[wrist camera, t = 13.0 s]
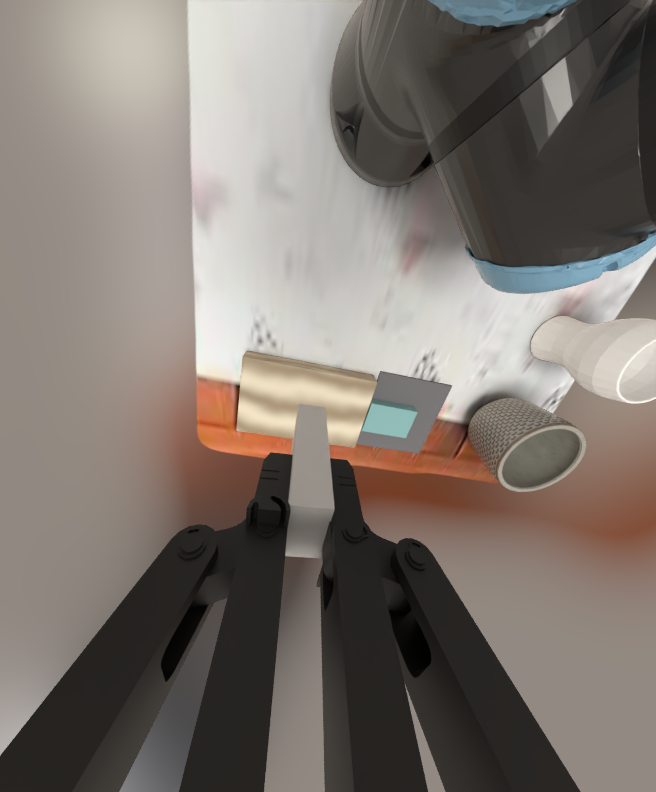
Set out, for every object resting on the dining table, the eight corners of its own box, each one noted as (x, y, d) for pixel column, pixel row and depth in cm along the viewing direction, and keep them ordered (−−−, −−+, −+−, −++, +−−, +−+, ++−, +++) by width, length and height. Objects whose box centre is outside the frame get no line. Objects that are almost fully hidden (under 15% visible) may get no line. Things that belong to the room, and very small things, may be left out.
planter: (497, 372, 46) (559, 407, 35) (536, 409, 51) (603, 451, 39) (440, 424, 51) (479, 470, 39) (481, 454, 55) (527, 503, 44)
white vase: (550, 375, 47) (644, 418, 34) (509, 353, 45) (594, 390, 31) (597, 322, 43) (726, 347, 30) (555, 295, 41) (675, 309, 27)
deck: (246, 350, 41) (242, 356, 39) (373, 375, 45) (377, 382, 42) (240, 421, 47) (236, 430, 45) (352, 438, 51) (354, 447, 48)
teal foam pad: (359, 425, 49) (361, 430, 47) (369, 398, 46) (371, 403, 45) (402, 432, 51) (405, 438, 49) (413, 406, 48) (417, 412, 46)
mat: (380, 371, 45) (380, 372, 44) (450, 385, 47) (452, 386, 46) (355, 442, 51) (356, 444, 51) (418, 452, 54) (418, 453, 53)
